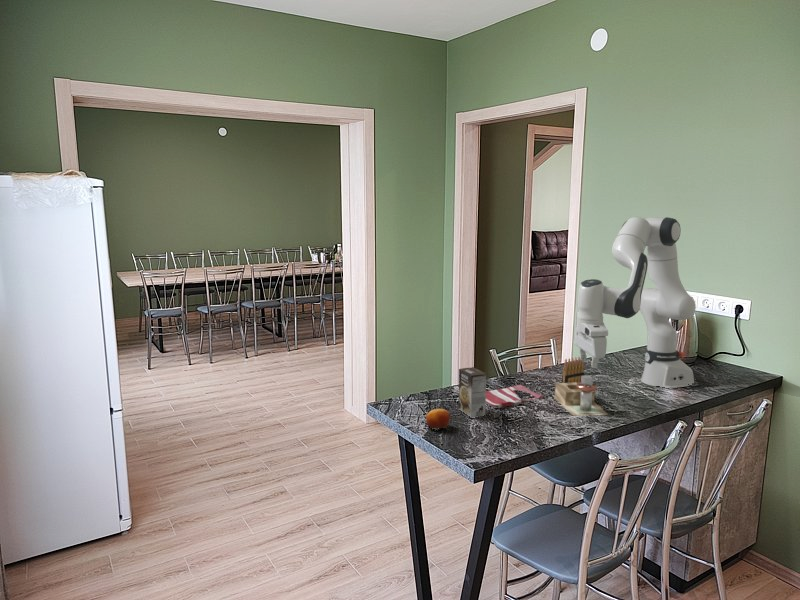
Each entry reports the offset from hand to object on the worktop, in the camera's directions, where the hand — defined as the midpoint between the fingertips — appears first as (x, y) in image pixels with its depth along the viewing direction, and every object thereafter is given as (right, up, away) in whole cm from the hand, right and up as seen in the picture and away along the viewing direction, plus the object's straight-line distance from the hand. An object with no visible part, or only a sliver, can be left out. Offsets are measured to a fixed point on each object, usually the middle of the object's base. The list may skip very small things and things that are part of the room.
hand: (588, 363), depth 213 cm
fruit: (-54, -21, -10) cm, 59 cm away
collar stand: (-1, -17, +9) cm, 19 cm away
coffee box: (-41, -19, +3) cm, 45 cm away
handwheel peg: (0, -17, +3) cm, 17 cm away
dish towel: (-26, -16, +19) cm, 36 cm away
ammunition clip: (+4, -13, +34) cm, 37 cm away
